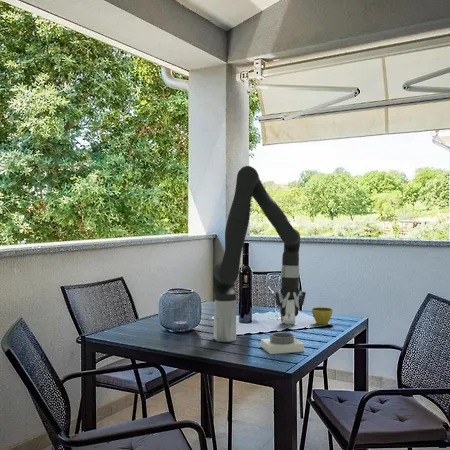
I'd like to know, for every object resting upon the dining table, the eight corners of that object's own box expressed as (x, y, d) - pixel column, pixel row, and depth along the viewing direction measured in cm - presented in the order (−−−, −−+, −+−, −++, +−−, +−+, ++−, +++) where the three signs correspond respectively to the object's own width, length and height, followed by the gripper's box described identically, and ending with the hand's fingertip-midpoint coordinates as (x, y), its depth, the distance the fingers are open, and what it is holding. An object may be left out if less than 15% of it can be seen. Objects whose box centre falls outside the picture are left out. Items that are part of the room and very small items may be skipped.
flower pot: (310, 321, 238) (310, 307, 238) (330, 321, 238) (330, 307, 238) (313, 325, 228) (313, 311, 228) (334, 325, 228) (334, 311, 228)
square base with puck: (270, 354, 181) (270, 339, 181) (260, 346, 192) (260, 333, 192) (304, 351, 185) (304, 337, 185) (292, 344, 195) (292, 330, 195)
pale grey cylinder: (285, 324, 197) (286, 299, 197) (281, 321, 202) (281, 297, 202) (296, 323, 198) (297, 299, 198) (292, 321, 203) (292, 297, 203)
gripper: (277, 277, 195) (276, 318, 195) (309, 276, 198) (308, 317, 198) (271, 274, 202) (270, 314, 202) (302, 274, 205) (301, 313, 206)
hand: (289, 315), depth 200 cm, fingers closed on pale grey cylinder, 5 cm apart
